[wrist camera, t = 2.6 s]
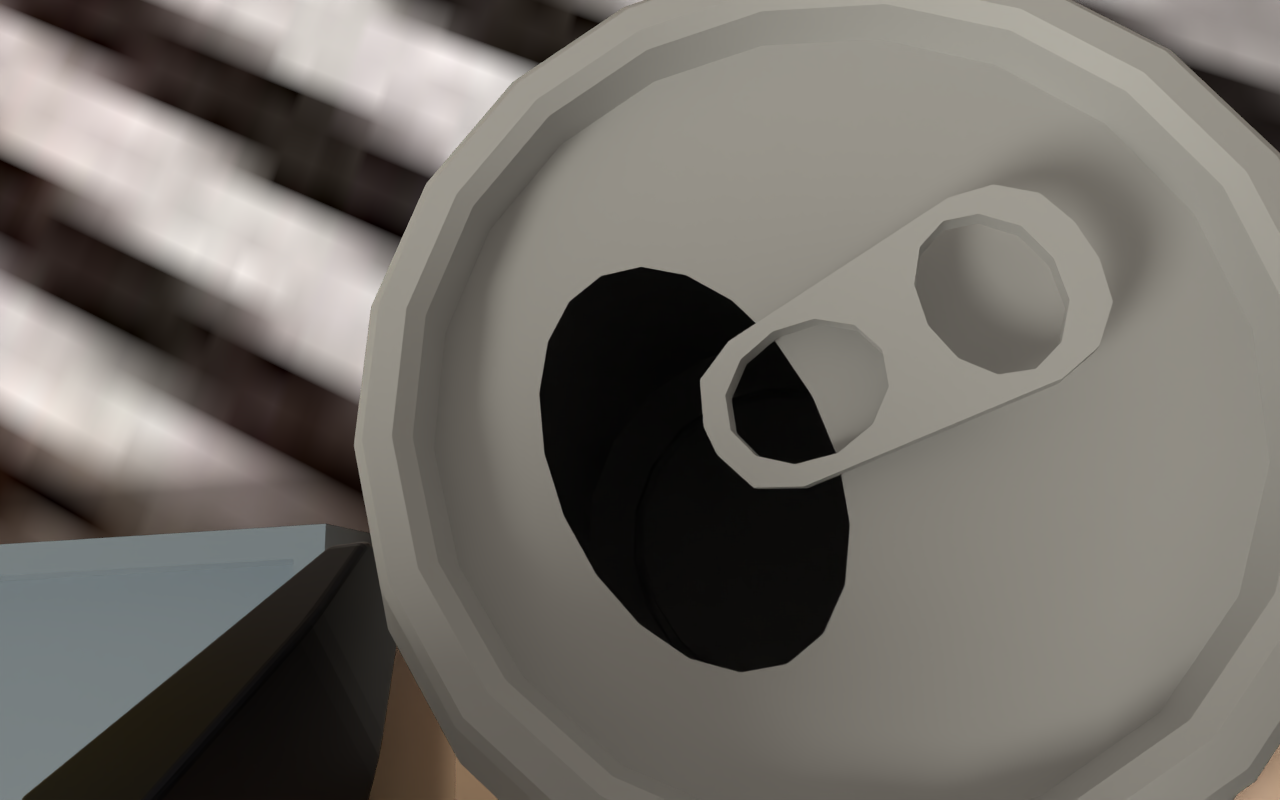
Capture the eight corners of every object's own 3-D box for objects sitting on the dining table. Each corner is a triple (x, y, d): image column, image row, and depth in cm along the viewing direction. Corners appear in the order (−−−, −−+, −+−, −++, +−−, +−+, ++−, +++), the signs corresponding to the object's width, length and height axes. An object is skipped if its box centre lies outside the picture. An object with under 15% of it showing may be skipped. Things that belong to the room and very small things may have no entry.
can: (539, 451, 18) (118, 145, 6) (870, 292, 18) (1061, -322, 6) (695, 818, 16) (492, 1357, 4) (1074, 641, 16) (1942, 704, 4)
